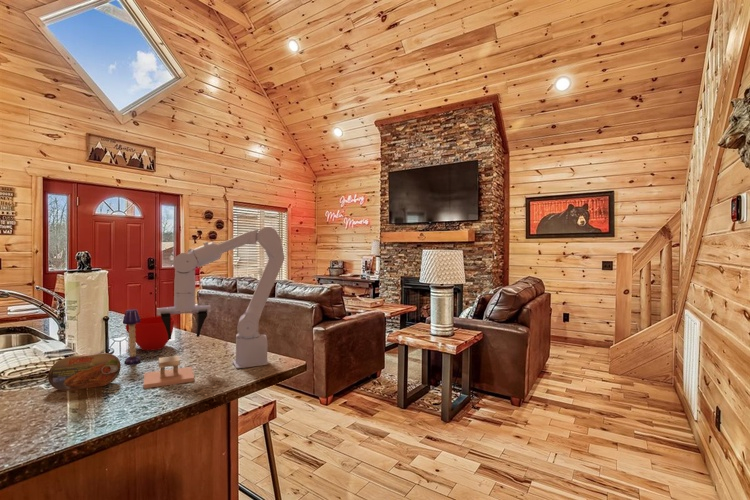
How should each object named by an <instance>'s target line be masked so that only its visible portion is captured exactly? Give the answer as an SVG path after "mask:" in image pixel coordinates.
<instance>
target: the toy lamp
mask: <svg viewBox="0 0 750 500" xmlns="http://www.w3.org/2000/svg"><path fill="white" fill-rule="evenodd" d="M140 318H141V317H140V315H139V311H138V309H136V308H133V309H132V308H131V309H130V308H129V309H126V310H125V312H124V316H123V319H122V324H123V325H127V324H129V333H128V337H129V339H128V342H129V343H128V346H129V349H128V352H129V353H128V355H129V356H128V357H127V358H126V359H125V360H124V365H128V366H129V365H137V364H139V363H141V361H142V360H141V358H140V357H139V356H137V351H136V349H137V348H136V346H137V343H136V342H135V341H136V338H135V335H136V334H135V324H136V323H139V322H140Z"/></svg>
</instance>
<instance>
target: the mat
mask: <svg viewBox="0 0 750 500" xmlns="http://www.w3.org/2000/svg"><path fill="white" fill-rule="evenodd" d="M143 376H144V377H143V384H142V386H143V387H142V388H143V389H150V388H155V387H164V386H170V385H176V384H182V383H183V384H185V383H193V382H195V375H194V371H193V367H192V366H188V367H180V368H179V367H178V376H177V377H174V373H173V368H172V369H170V368H169V369H165V378H163V379H160V370H155V371H148V372H144V375H143Z"/></svg>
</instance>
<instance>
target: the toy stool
mask: <svg viewBox="0 0 750 500" xmlns="http://www.w3.org/2000/svg"><path fill="white" fill-rule="evenodd" d="M180 363H181V358H180V355H173V356H164V357H158V368H159V369H160V370H159V371H160V379H163V378H165V370H166V367H167V368H168V367H169V368H170V367H172V369H173V373H174V377H177V376H178V368H179V366H180Z"/></svg>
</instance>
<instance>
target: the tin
mask: <svg viewBox="0 0 750 500" xmlns="http://www.w3.org/2000/svg"><path fill="white" fill-rule="evenodd" d="M121 364H122V363H121V362H120V359H119V358H118V357H117V356H116V355H114V354H112V353H109V352H108V353H107V352H100V353H92V354H84V355H83V354H82V355H73V356H71V355H70V356H67V357H63V358H61V359H59V360H58V361H56V362H55V363H53V365H52V366H51V367H50V369H49V370H48V374H47V380H48V383H49V384H50V386H51V387H52V388H54V389H55V390H58V391H62V392H63V391H64V392H67V391H74V390H75V391H77V390H83V389H89V388H90V389H91V388H98V387H104V386H107V385H110V384H112V383H113V382H114V381H115V380H116V379H117V378H118V376H119V374H120V372H121V369H122V366H121Z"/></svg>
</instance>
